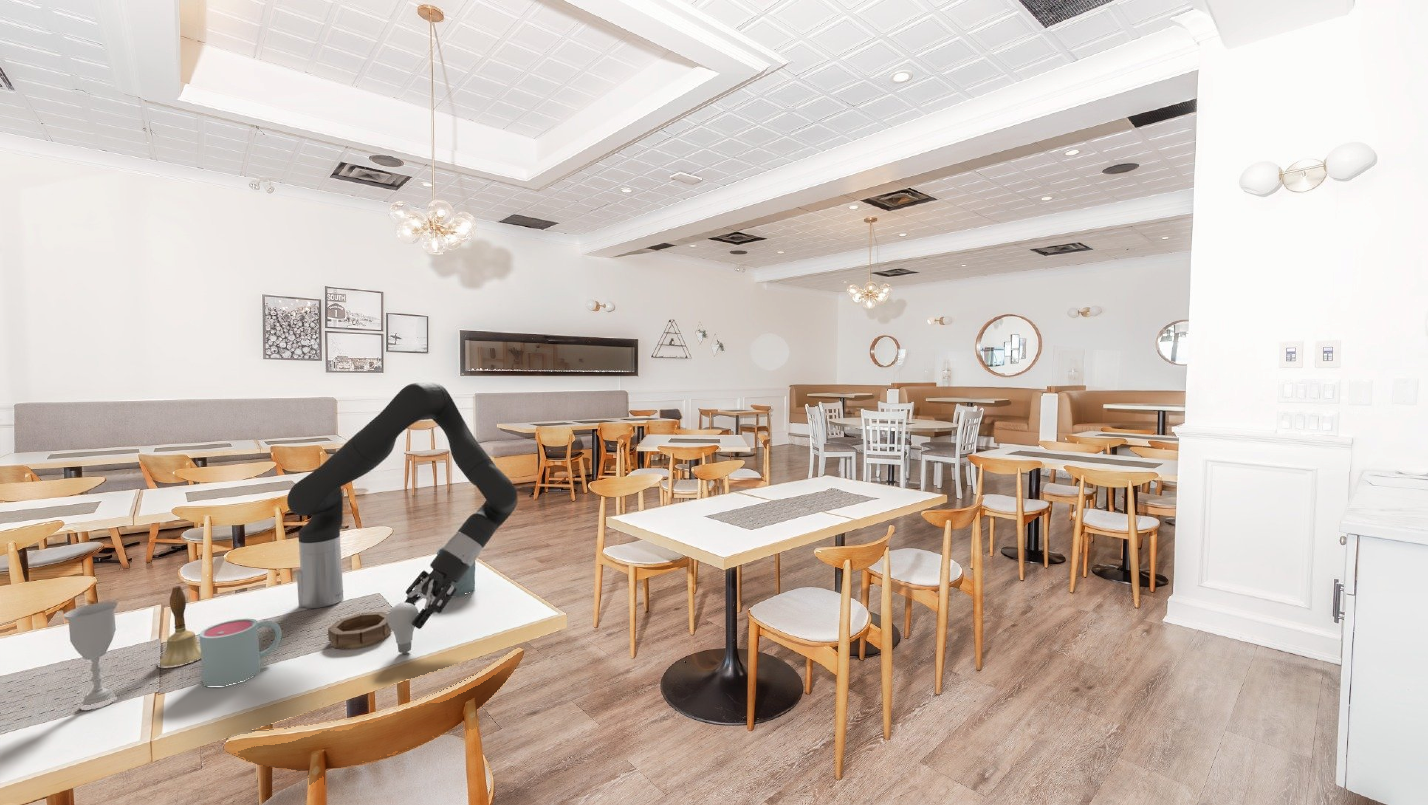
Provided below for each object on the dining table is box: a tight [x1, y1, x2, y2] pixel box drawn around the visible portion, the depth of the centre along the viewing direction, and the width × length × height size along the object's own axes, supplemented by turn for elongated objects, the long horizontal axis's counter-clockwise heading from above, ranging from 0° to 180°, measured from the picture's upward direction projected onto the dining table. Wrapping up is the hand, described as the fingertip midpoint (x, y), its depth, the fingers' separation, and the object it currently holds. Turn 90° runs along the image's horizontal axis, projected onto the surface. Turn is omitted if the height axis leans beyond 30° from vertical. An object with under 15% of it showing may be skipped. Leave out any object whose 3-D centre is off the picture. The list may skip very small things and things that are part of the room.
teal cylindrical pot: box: [436, 546, 476, 597], centre depth 169 cm, size 10×10×12 cm
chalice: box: [63, 601, 118, 705], centre depth 114 cm, size 7×7×18 cm
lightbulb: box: [387, 602, 420, 655], centre depth 132 cm, size 6×6×11 cm
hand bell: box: [159, 585, 201, 666], centre depth 131 cm, size 8×8×16 cm
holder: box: [327, 611, 392, 651], centre depth 141 cm, size 12×12×4 cm
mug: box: [199, 618, 283, 687], centre depth 126 cm, size 14×9×10 cm
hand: (407, 621), depth 133 cm, fingers open, 8 cm apart
